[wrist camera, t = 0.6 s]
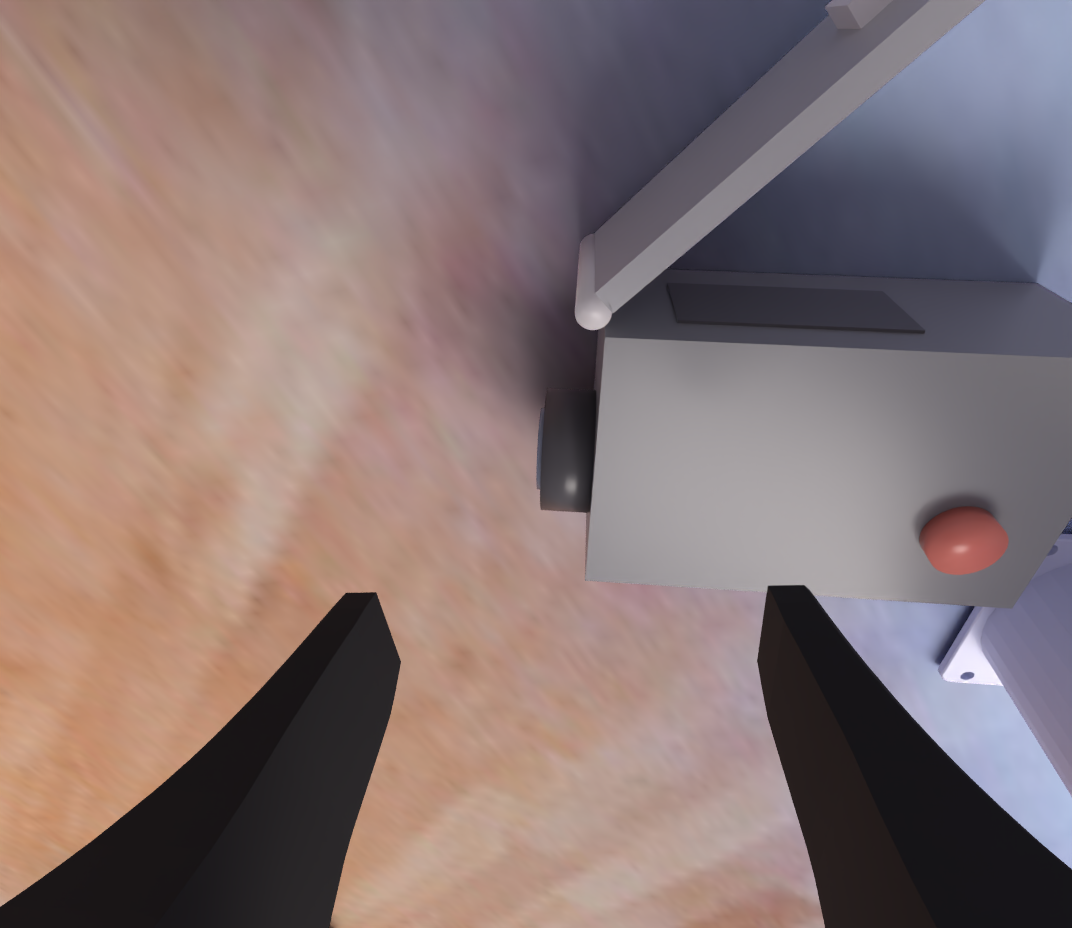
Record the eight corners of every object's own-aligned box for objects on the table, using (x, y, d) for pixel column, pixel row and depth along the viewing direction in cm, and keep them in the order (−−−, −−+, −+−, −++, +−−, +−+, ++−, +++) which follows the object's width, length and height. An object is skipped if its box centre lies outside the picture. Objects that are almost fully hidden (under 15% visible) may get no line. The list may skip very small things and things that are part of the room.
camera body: (1038, 280, 17) (1197, 371, 13) (933, 499, 22) (1023, 625, 17) (549, 262, 18) (533, 342, 13) (543, 477, 22) (530, 592, 18)
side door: (861, -47, 13) (969, -78, 10) (888, 2, 14) (1002, -8, 10) (563, 236, 17) (554, 298, 13) (592, 268, 18) (591, 337, 14)
